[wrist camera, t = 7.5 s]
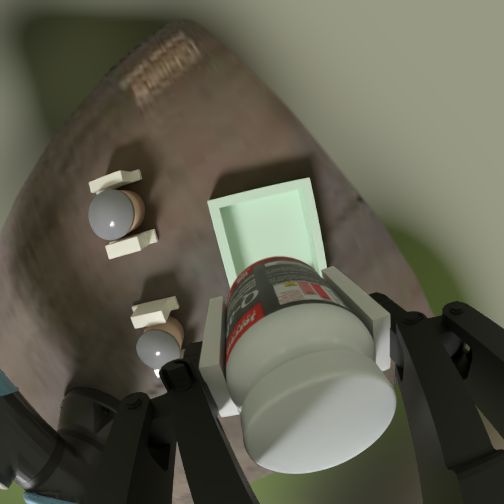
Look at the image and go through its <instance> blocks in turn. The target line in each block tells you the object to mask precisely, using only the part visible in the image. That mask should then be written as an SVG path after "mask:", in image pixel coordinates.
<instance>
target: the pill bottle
mask: <svg viewBox="0 0 504 504" xmlns="http://www.w3.org/2000/svg"><path fill="white" fill-rule="evenodd" d="M225 372H226V381H227V388H228V391H229V394H230V397H231V399H232V401H233V403H234V404H235V406H236V407H237V408H238V410H239V411H240V412H241V425H242V431H243V441H244V446H245V449H246V451H247V453H248V455H249V456H250V457H251V458H252V459H253V460H254V461H255V462H256V463H257V464H259V465H260V466H262V467H264V468H267V469H269V470H273V471H276V472H282V473H309V472H314V471H320V470H324V469H327V468H330V467H333V466H336V465H338V464H341V463H343V462H345V461H347V460H349V459H351V458H353V457H354V456H356V455H358V454H359V453H361V452H362V451H364V450H365V449H366V448H367V447H369V446H370V445H372V444H373V443H374V442H375V441H376V440H377V439H378V438H379V437H380V436H381V434H382V433H383V432H384V431H385V430H386V428H387V427H388V425H389V424H390V422H391V420H392V418H393V415H394V413H395V409H396V394H395V391H394V389H393V387H392V385H391V383H390V382H389V381H388V379H387V378H386V377H385V375H384V374H383V372H382V371H381V369H380V368H379V367H378V365H377V364H376V350H375V345H374V342H373V339H372V336H371V334H370V333H369V331H368V329H367V328H366V326H365V325H364V324H363V322H362V321H361V320H360V319H359V318H358V316H357V315H356V314H355V313H354V312H353V311H352V310H351V309H350V308H349V307H348V306H347V304H346V303H345V302H344V301H343V300H342V299H341V298H340V297H339V296H338V295H337V294H336V292H335V291H334V290H333V289H332V288H331V287H330V286H329V285H328V284H327V283H326V282H325V280H324V279H323V278H322V277H321V276H320V275H319V274H318V273H317V272H316V271H315V270H314V269H313V268H312V267H311V266H309V265H308V264H306V263H304V262H303V261H301V260H298V259H295V258H291V257H286V256H274V257H268V258H264V259H261V260H259V261H257V262H255V263H253V264H251V265H250V266H248V267H247V268H246V269H244V270H243V271H242V272H241V273H240V274H239V275H238V277H237V278H236V279H235V281H234V283H233V284H232V286H231V289H230V291H229V295H228V299H227V313H226V369H225Z"/></svg>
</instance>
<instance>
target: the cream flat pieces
mask: <svg viewBox="0 0 504 504" xmlns="http://www.w3.org/2000/svg"><path fill="white" fill-rule="evenodd" d="M139 180H142V176H141V172H140V169H138V170H135V171H132V172H128V171H122V170H119V171H117V172H114V173H111V174H109V175H106V176H104V177H101V178H98V179H96V180H93V181H91V182H89V186H90V190H91V193H96V194H99V193H100V192H102V191H104V190H110V189H115V188H118V187H121V186H124V185H127V184H130V183H133V182H136V181H139ZM155 242H158V238H157V235H156V231H155V229H152V230H149V231H145V232H142V233H139V234H135V235H132V236H129V237H125V238H122V239H119V240H115V241H112V242H110V244H108V245H107V246H105V247H106V251H107V254H108V257H109V259H112V258H116V257H119V256H123V255H126V254H130V253H133V252H137V251H140V250H142V249H143V248H145V247H146V246H147V245H149V244H152V243H155ZM131 308H132V310H133V314H132V316H131V317H130V318H131V320H132V323H133V325H134V328H135V329H136V328H142V327H147V326H152V325H157V324H161V323H166V321H167V319H168V316H169V314H170V312H171V310H175V309H179V304H178V302H177V299H176V296H173V297H168V298H164V299H160V300H155V301H151V302H147V303H142V304H138V305H133V306H132V307H131ZM184 351H185V349H181V353H180V358H183V355H184ZM154 371H155V373H156V375H157V377H160V376H159V369H154Z"/></svg>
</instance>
